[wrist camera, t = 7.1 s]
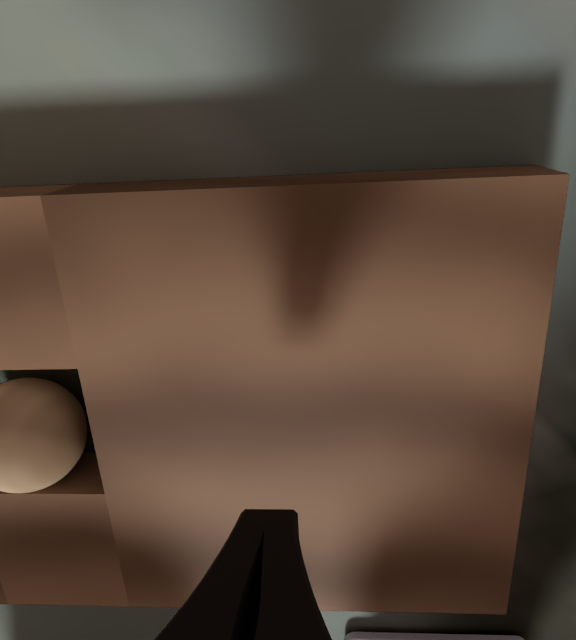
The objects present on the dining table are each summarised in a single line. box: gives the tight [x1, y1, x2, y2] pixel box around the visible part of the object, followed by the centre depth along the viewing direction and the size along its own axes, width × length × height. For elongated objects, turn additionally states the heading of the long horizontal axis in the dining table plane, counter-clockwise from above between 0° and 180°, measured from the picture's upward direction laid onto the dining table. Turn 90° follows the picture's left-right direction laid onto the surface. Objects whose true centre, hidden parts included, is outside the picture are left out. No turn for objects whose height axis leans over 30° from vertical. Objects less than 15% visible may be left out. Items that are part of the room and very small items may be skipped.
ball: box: [0, 378, 87, 493], centre depth 19 cm, size 4×4×4 cm
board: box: [0, 165, 570, 614], centre depth 19 cm, size 16×22×2 cm
